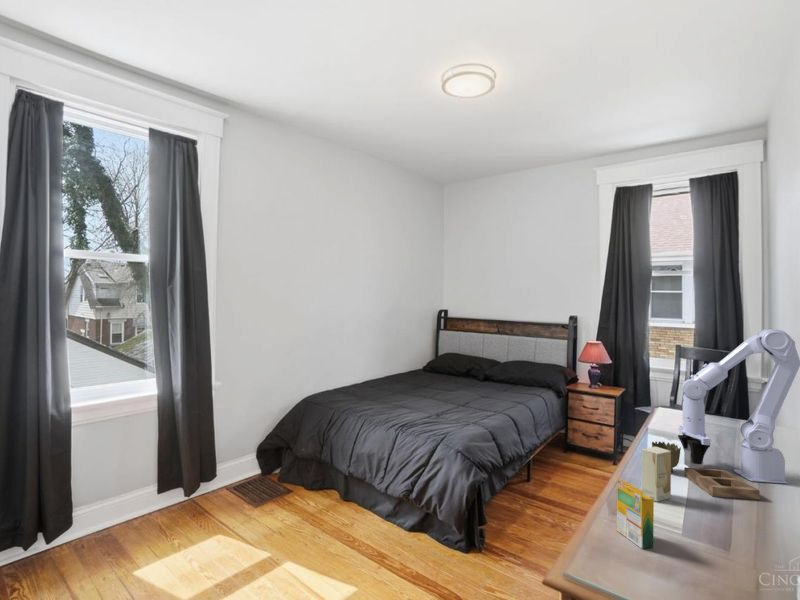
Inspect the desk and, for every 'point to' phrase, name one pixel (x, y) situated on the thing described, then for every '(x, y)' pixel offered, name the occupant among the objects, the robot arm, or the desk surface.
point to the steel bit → (690, 459)
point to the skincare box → (656, 473)
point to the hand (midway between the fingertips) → (693, 461)
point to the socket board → (721, 483)
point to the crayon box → (634, 514)
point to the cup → (674, 452)
